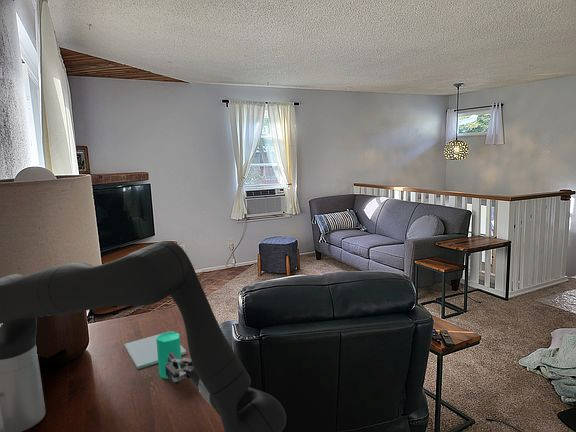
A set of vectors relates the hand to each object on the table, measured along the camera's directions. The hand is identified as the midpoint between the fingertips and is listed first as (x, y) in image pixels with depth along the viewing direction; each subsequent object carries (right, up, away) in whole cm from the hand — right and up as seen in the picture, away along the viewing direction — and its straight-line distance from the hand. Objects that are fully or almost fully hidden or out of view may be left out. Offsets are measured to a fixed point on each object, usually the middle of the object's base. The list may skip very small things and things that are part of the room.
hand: (188, 350), depth 92 cm
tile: (-17, -8, +24) cm, 30 cm away
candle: (-8, -10, +12) cm, 18 cm away
